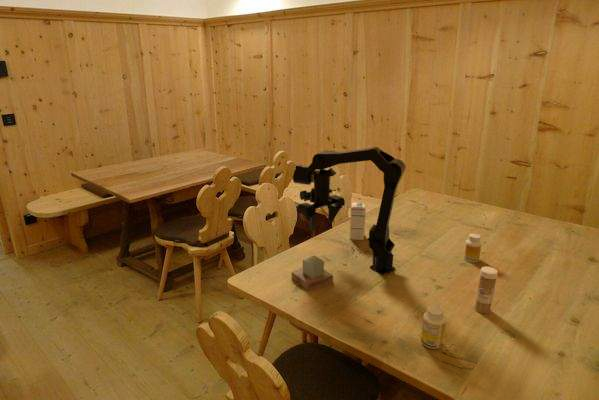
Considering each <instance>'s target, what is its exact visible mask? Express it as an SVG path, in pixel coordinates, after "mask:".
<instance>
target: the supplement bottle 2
mask: <svg viewBox="0 0 599 400" xmlns="http://www.w3.org/2000/svg"><path fill="white" fill-rule="evenodd" d="M481 249H482V242H481V235H480V234H477V233H469V234H468V239H466V241H465V245H464V252H463V259H464V261H467V262H469V263H478V262H479V260H480V256H481Z"/></svg>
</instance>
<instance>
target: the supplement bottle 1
mask: <svg viewBox="0 0 599 400" xmlns="http://www.w3.org/2000/svg"><path fill="white" fill-rule="evenodd" d="M422 316H423V317H422V323H421V334H420V341H421V344H422V345H423V346H425V347H426V348H427V349H428V348H429V349H433V350H436V349H441V347H442V346H443V343H444V337H445V329H446V322H447V320H446V316H445V315H444V309H443V308H442V307H440V306H438V305H429V306H428V307H427V309H426V312H425V313H424V314H423V315H422Z"/></svg>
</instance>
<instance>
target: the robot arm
mask: <svg viewBox="0 0 599 400" xmlns="http://www.w3.org/2000/svg"><path fill="white" fill-rule="evenodd" d="M368 161H369V162H372V163H373V164H374V166H376V168H378V170H379V171H381V172H382V173H383V193H382V198H381V202H380V207H379V210H378V216H377V220H376V224H373V225H372V226H371V228H370V229H369V231H368V238H367V239H366V241H367V242H368V246H369V247H370V249H371V250H372V253H373V255H372V264H371V265H370V266H369V267H370V269H372V270H374V271H376V272H378V273H380V274H381V275H385V274H386V275H387V274H388V273H390V272H392V271H395V270H396V267H394V266H393V264H394V254H393V252H392V251H393V249H394V248H395V246H396V245H395V243H394V242H393V241H392V240H391V238H390V225H389V224H390V219H391V215H392V211H393V206H394V202H395V198H396V193H397V190H398V189H397V188H398V187H399V184H400V182H401V181H402V178H403V175H404V173H405V171H406V164H405V162H404V161H403V160H402V159H399V158H395V157H394V156H393V155H391V154H389V153H387V152H385V151H384V150H382V149H381V148H380V147H378V146H373V147H367V148H360V149H351V150H344V151H336V150H329V149H328V150H321V151H320V152H317V153H315V154H314V155H313V156H312V162H311V163H310V165H309V166H308V165H303V164H296V165H295V169H294V172H293V175H292V181H293V183H294V184H299V185H306V186H307V185H308V186H310V185H311V184H312V183H313V187H312V188H311V189H310V191H307V190H306V189H305V190H301V191H299V198H300V200H301V201H303V203H299V204H298V205H297V207H296V212H297V213H299V214H301V215H303V216H304V218H305V219H306V221H307V225H308V227H309V230H310V231H313V230H314V227H315V222H316V218H317V214H316V212H317V211H316V210H317V209H321V208H325V207H327V209H328V216H327V217H328V224H330V225H332V224H333V222H334V220H335V218H336V217H337V215H338V213H339V212H340V210H341V209H342V208H343V206H345V204H346V200H345V199H344V197H342V196H339V195H337V194H333V195H330V194H331V193H333V189H331V188H330V187H331V177H334V176H335V175H336V174H337V172H336V171H335V170H334V169H333V168H332V167H335V166H336V165H341V164H350V163H359V162H368ZM307 201H309V202H310V203H312V204H310V203H308V202H307Z"/></svg>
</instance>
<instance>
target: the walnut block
mask: <svg viewBox="0 0 599 400" xmlns="http://www.w3.org/2000/svg"><path fill="white" fill-rule="evenodd" d="M291 279H292V280H293V281H295V282H296V283H297V284H299V285H300V286H301V287H303V288H304V289H305V290H307V291H308V292H311V291H313V290H316V289H318V288H320V287H323V286H326V285H329V284H330V283H333V282H334V275H333V274H332V273H330V272H329V271H327V270H325V269H324V274H323V275H321V276H318V277H316V278H313V279H312V278H310V277H308V276H307V275H305V274H304V273H303V267H302V268H298V269H295V270H293V271H291Z"/></svg>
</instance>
